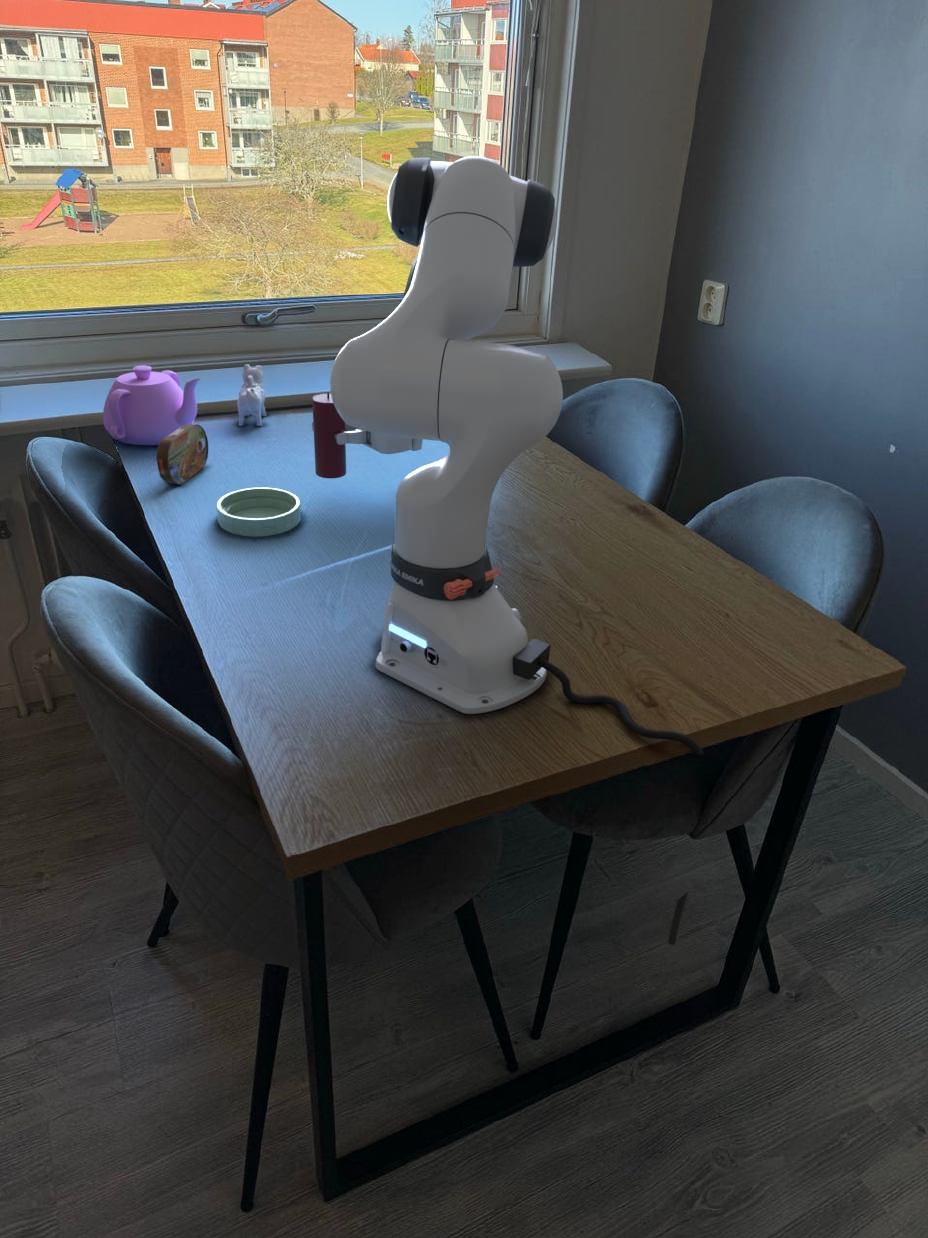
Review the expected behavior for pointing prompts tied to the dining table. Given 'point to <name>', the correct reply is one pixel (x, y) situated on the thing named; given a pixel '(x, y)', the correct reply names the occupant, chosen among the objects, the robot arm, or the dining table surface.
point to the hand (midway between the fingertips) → (325, 433)
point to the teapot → (148, 406)
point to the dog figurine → (251, 395)
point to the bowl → (258, 511)
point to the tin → (182, 454)
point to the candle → (328, 438)
